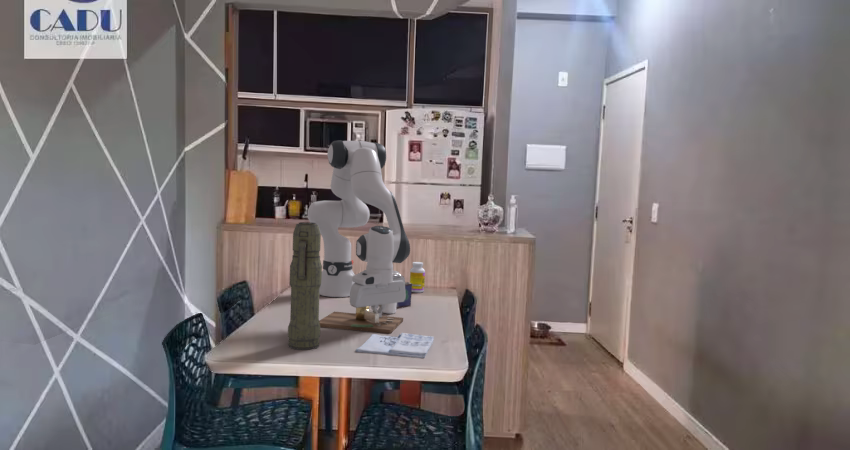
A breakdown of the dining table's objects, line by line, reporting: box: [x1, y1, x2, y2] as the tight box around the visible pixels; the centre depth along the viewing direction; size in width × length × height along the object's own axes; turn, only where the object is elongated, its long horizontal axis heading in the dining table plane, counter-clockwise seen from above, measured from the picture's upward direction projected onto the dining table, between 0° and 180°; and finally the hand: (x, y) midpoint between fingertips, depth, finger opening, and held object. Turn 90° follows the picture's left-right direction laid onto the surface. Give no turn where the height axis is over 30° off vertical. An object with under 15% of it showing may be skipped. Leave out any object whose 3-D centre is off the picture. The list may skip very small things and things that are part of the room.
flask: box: [396, 281, 413, 309], centre depth 216 cm, size 9×3×11 cm, turn 134°
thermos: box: [287, 221, 323, 351], centre depth 159 cm, size 9×12×35 cm
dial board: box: [319, 311, 404, 334], centre depth 187 cm, size 18×25×2 cm
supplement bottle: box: [409, 261, 426, 294], centre depth 248 cm, size 7×7×13 cm
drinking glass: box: [382, 270, 400, 315], centre depth 205 cm, size 7×7×15 cm
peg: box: [355, 306, 379, 323], centre depth 186 cm, size 11×4×5 cm, turn 37°
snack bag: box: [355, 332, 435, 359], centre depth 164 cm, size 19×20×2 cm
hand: (377, 317), depth 185 cm, fingers closed
